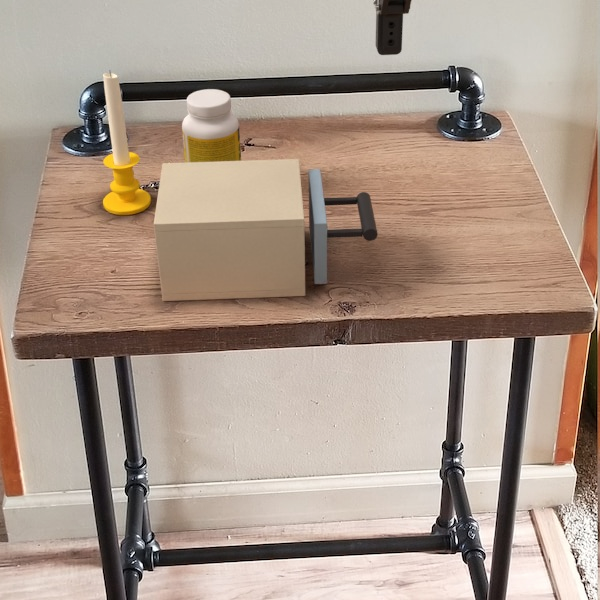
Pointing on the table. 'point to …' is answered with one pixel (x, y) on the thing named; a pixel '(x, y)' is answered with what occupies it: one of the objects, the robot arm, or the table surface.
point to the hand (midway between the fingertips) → (388, 51)
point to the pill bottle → (210, 128)
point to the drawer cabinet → (230, 230)
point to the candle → (121, 158)
